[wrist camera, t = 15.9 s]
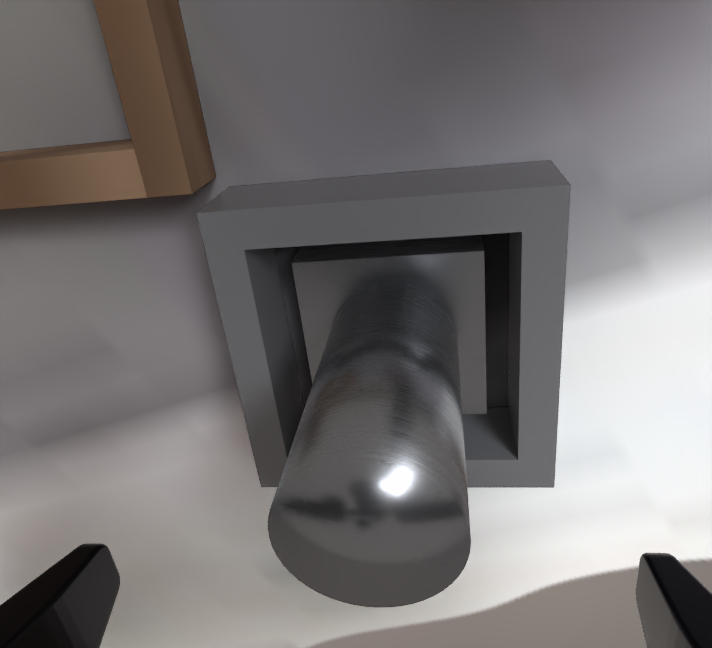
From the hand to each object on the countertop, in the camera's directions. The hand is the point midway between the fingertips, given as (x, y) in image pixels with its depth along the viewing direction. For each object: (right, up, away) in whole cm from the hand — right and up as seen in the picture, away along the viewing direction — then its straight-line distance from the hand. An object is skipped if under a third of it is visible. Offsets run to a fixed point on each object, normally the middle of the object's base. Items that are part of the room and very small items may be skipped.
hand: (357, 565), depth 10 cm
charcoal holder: (+1, +4, +8) cm, 9 cm away
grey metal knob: (+1, +4, +8) cm, 9 cm away
